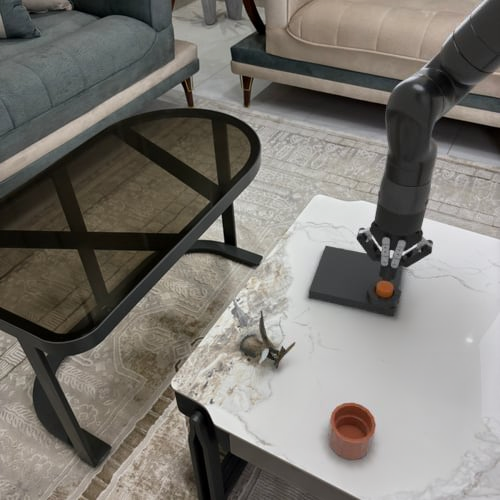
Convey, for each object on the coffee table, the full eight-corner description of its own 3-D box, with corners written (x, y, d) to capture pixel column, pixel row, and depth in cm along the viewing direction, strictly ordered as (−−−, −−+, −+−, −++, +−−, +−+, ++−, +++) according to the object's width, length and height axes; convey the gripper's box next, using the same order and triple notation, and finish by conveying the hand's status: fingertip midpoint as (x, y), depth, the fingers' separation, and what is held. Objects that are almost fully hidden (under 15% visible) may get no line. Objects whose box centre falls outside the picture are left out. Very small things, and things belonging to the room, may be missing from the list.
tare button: (393, 288, 93) (394, 282, 92) (391, 299, 90) (392, 293, 89) (377, 285, 93) (378, 279, 92) (374, 296, 91) (375, 290, 90)
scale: (404, 267, 101) (407, 254, 99) (395, 318, 91) (398, 305, 89) (325, 252, 106) (326, 239, 104) (307, 299, 96) (308, 286, 93)
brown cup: (374, 428, 75) (378, 409, 72) (367, 466, 70) (371, 448, 67) (333, 416, 77) (335, 397, 73) (324, 452, 72) (326, 434, 69)
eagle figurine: (302, 346, 85) (267, 311, 90) (291, 340, 79) (254, 303, 83) (272, 379, 85) (238, 343, 90) (258, 375, 79) (223, 336, 83)
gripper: (448, 192, 79) (426, 272, 91) (364, 179, 83) (353, 257, 94) (445, 220, 74) (422, 300, 85) (356, 204, 78) (345, 284, 89)
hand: (386, 278), depth 90 cm, fingers closed
